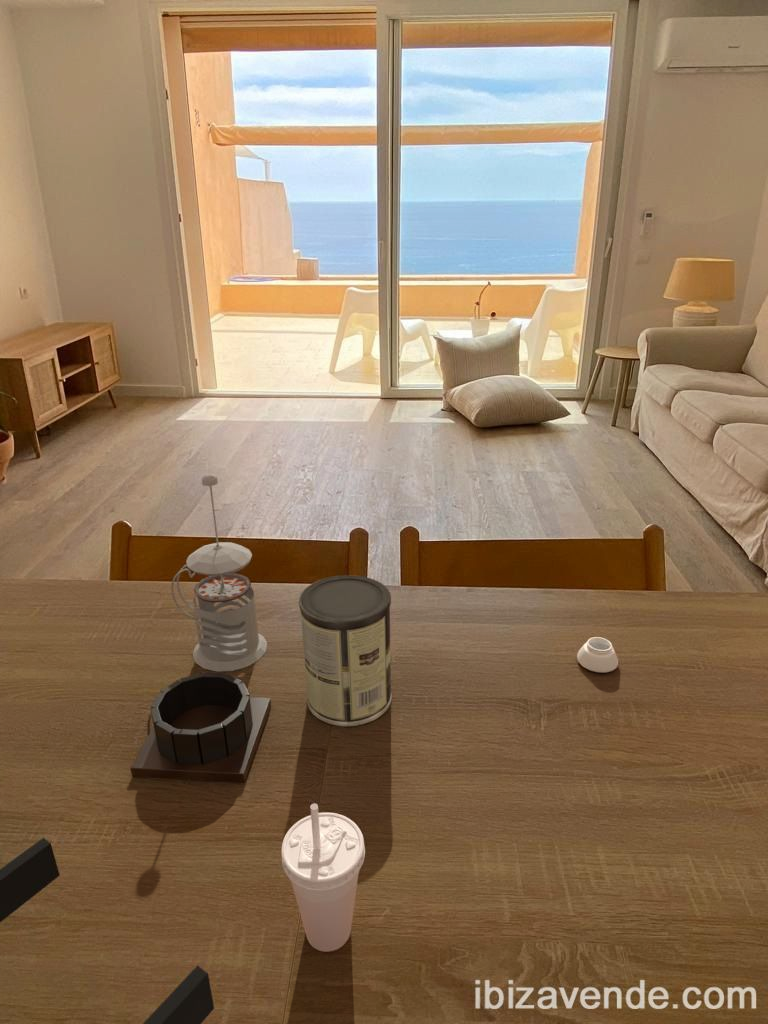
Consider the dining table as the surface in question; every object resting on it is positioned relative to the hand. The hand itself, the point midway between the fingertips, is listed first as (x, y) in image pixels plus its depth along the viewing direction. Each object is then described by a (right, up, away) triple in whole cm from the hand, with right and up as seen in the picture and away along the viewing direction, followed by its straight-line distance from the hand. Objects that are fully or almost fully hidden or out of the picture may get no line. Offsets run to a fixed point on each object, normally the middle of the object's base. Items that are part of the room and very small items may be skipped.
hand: (122, 914), depth 38 cm
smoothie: (+10, -12, +18) cm, 24 cm away
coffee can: (+10, 0, +45) cm, 46 cm away
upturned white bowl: (+42, +3, +51) cm, 66 cm away
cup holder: (-5, -3, +39) cm, 39 cm away
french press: (-7, +4, +55) cm, 55 cm away
